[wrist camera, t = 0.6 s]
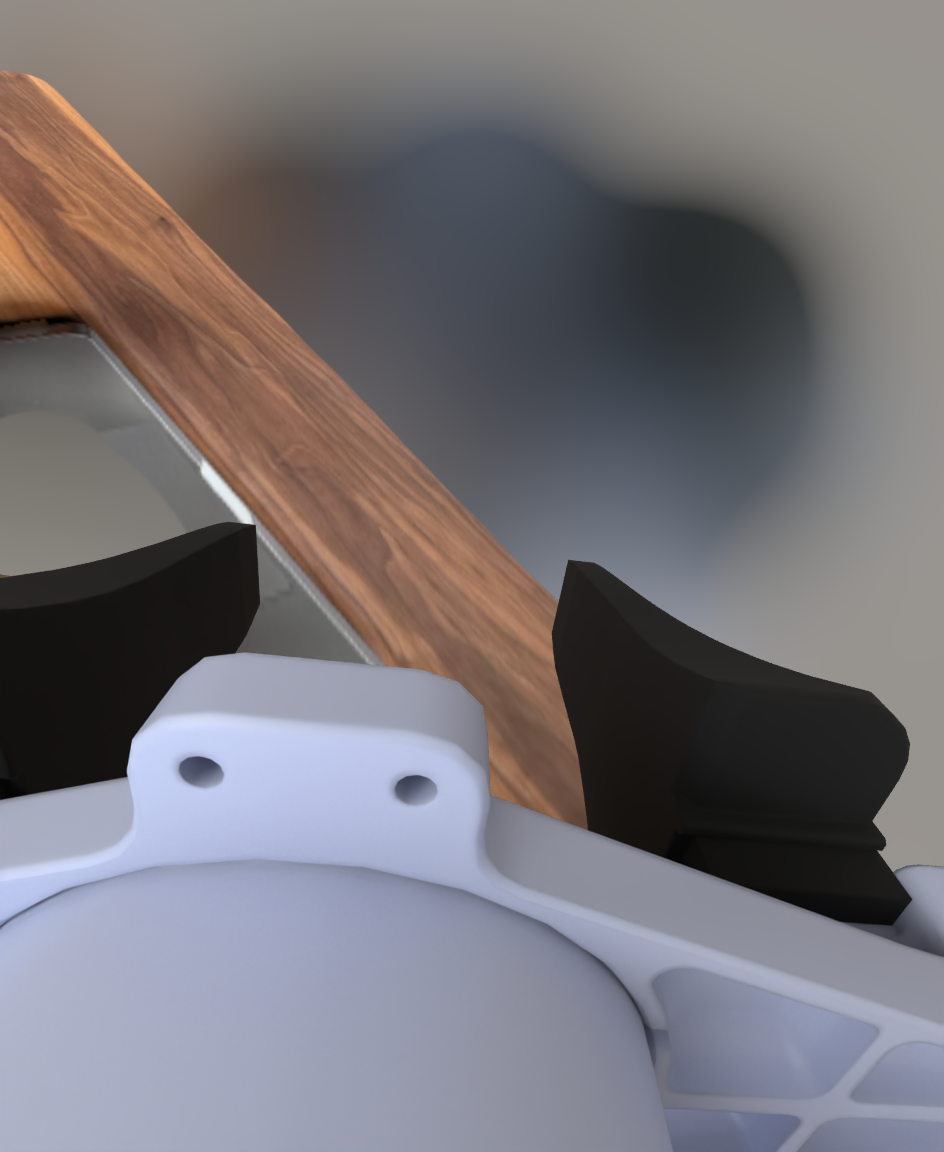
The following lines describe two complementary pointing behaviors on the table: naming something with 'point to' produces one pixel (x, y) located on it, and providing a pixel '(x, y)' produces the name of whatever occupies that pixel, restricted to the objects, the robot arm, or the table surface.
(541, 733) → the table surface
